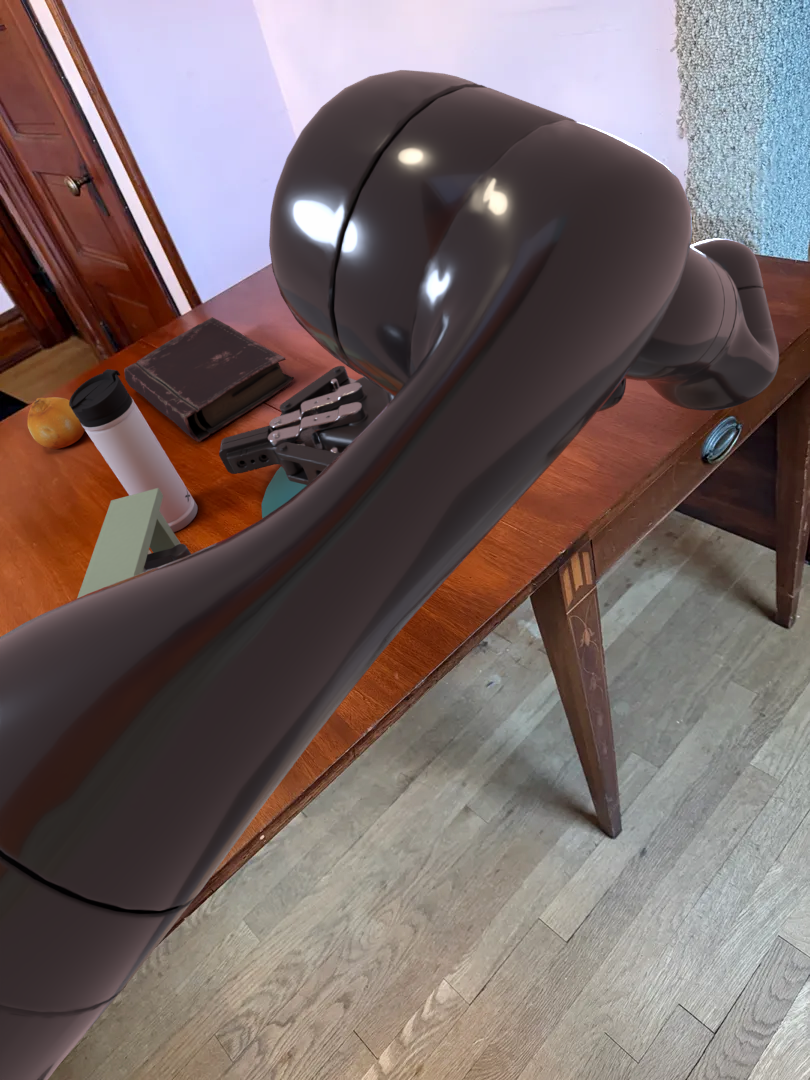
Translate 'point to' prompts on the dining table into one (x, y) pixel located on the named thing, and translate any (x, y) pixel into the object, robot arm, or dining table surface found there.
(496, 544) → the dining table surface
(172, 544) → the window frame
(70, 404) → the travel mug
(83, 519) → the dining table surface
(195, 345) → the diary
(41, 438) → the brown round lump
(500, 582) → the dining table surface
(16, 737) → the robot arm
